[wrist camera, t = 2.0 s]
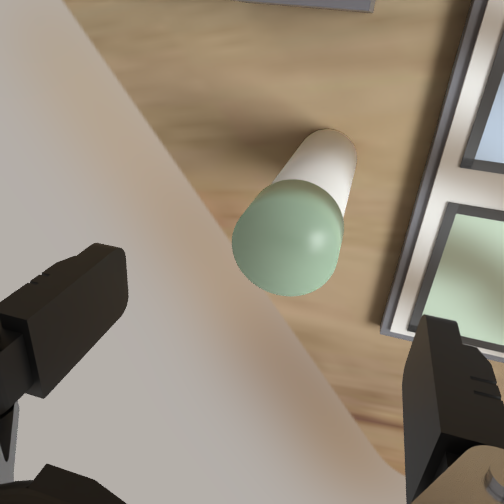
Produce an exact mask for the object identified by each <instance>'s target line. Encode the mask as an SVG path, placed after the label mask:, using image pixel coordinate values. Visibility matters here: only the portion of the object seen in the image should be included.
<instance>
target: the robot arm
mask: <svg viewBox="0 0 504 504" xmlns="http://www.w3.org/2000/svg"><path fill="white" fill-rule="evenodd" d="M127 283H128V282H127V269H126V256H125V252H124V250H123V249H122V248H118V247H114V246H109V245H104V244H99V243H94V244H92V245H91V246H89V247H88V248H86V249H85V250H84V251H82V252H81V253H80V254H78V255H77V256H73V257H70V258H68V259H65V260H63V261H60V262H57V263H55V264H54V265H53V266H51V267H50V268H48V269H47V270H45V271H44V272H42V275H38V276H37V277H35V278H34V279H32V280H31V282H30V283H27V284H25V285H24V286H22V287H21V288H20V289H18V290H17V291H15V292H14V293H13V294H11V295H10V296H8V297H7V298H6V299H4V300H3V301H1V302H0V504H126V503H125V502H124V501H122V500H121V499H120V498H118V497H117V496H116V495H114V494H113V493H111V492H110V491H109V490H107V489H106V488H104V487H103V486H102V485H101V484H99V483H98V482H97V481H95V480H93V479H90V478H88V477H85V476H82V475H78V474H76V473H73V472H70V471H67V470H64V469H61V468H58V467H55V466H52V465H50V464H46V465H45V466H44V468H43V469H42V470H41V472H40V473H39V474H38V475H37V476H36V478H35V479H34V480H28V481H15V482H14V473H13V472H14V462H15V451H16V440H17V429H18V418H19V405H18V401H17V400H18V399H19V398H20V397H21V396H22V395H23V394H24V393H27V394H30V395H33V396H37V397H40V398H43V399H44V398H45V397H46V396H47V395H48V394H49V393H50V392H51V391H52V390H53V389H54V388H55V386H56V385H57V384H58V383H59V382H60V381H61V380H62V379H63V378H64V377H65V376H66V375H67V374H68V373H69V372H70V370H71V369H72V368H73V367H74V366H75V365H76V364H77V363H78V362H79V361H80V360H81V359H82V358H83V357H84V355H85V354H86V353H87V352H88V351H89V350H90V349H91V348H92V347H93V346H94V345H95V344H96V343H97V341H98V340H99V339H100V338H101V337H102V336H103V335H104V334H105V333H106V332H107V331H108V330H109V329H110V327H111V326H112V325H113V324H114V323H115V322H116V321H117V320H118V319H119V318H120V317H121V316H122V314H123V313H124V310H125V309H126V306H127V302H128V284H127ZM496 383H497V381H496V378H495V375H494V372H493V368H492V365H491V364H490V362H489V361H488V360H487V359H486V357H485V356H484V355H483V354H482V353H481V351H480V350H479V349H478V348H477V347H474V346H469V345H465V344H462V340H461V335H460V331H459V327H458V323H457V322H456V321H454V320H449V319H444V318H440V317H435V316H430V315H426V314H423V315H422V317H421V319H420V321H419V324H418V327H417V330H416V333H415V336H414V339H413V342H412V345H411V348H410V351H409V354H408V357H407V361H406V364H405V368H404V373H403V381H402V396H403V422H404V448H405V473H406V497H407V498H406V499H407V504H504V404H503V401H501V394H500V391H499V388H498V386H497V385H496Z"/></svg>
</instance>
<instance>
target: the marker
mask: <svg viewBox="0 0 504 504" xmlns="http://www.w3.org/2000/svg"><path fill="white" fill-rule="evenodd" d="M356 164H357V152H356V149H355V146H354V144H353V143H352V141H351V140H350V139H349V138H348V137H347V136H346V135H345V134H343V133H341V132H339V131H337V130H333V129H322V130H318V131H315V132H313V133H312V134H310V135H309V136H308V137H306V138H305V140H304V141H303V142H302V143H301V145H300V146H299V147H298V149H297V150H296V151H295V153H294V154H293V155H292V157H291V158H290V159H289V161H288V162H287V163H286V165H285V166H284V167H283V169H282V170H281V171H280V173H279V174H278V176H277V177H276V178H275V180H274V181H273V182H272V184H271V185H269V186H268V187H266V188H265V189H263V190H262V191H261V192H260V193H259V194H258V195H257V197H256V198H255V199H254V200H253V202H252V203H251V204H250V206H249V207H248V208H247V209H246V211H245V212H244V213H243V215H242V216H241V217H240V219H239V220H238V222H237V224H236V226H235V228H234V231H233V236H232V249H233V254H234V258H235V260H236V263H237V265H238V266H239V268H240V270H241V271H242V272H243V273H244V275H245V276H246V277H247V278H248V279H249V280H250V281H251V282H253V284H255V285H256V286H258V287H259V288H261V289H263V290H265V291H267V292H270V293H273V294H276V295H282V296H300V295H305V294H308V293H311V292H313V291H315V290H317V289H318V288H320V287H321V286H322V285H324V284H325V283H326V282H327V281H328V280H329V278H330V277H331V275H332V274H333V272H334V270H335V268H336V264H337V260H338V256H339V252H340V247H341V243H342V238H343V233H344V221H343V216H344V212H345V208H346V204H347V200H348V196H349V192H350V188H351V184H352V180H353V176H354V172H355V168H356Z"/></svg>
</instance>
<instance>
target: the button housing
mask: <svg viewBox="0 0 504 504" xmlns="http://www.w3.org/2000/svg"><path fill="white" fill-rule="evenodd" d="M232 1H239V2H246V3H258V4H270V5H282V6H294V7H306V8H318V9H330V10H343V11H355V12H367V13H373V11H374V5H375V0H232Z"/></svg>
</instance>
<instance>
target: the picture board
mask: <svg viewBox="0 0 504 504" xmlns="http://www.w3.org/2000/svg"><path fill="white" fill-rule="evenodd" d="M423 314H426V315H430V316H435V317H440V318H444V319H449V320H454V321H456V322H457V323H458V327H459V331H460V335H461V340H462V344H465V345H469V346H474V347H477V348H478V349H479V350H480V351H481V353H482V354H483V355H484V356H485V357H486V359H490V360H494V361H498V362H502V363H504V0H472V1H471V5H470V8H469V12H468V16H467V19H466V23H465V26H464V30H463V33H462V37H461V40H460V44H459V48H458V51H457V55H456V58H455V62H454V65H453V69H452V72H451V76H450V80H449V83H448V87H447V90H446V94H445V97H444V101H443V104H442V108H441V112H440V115H439V119H438V122H437V126H436V129H435V133H434V136H433V140H432V144H431V147H430V151H429V154H428V158H427V161H426V165H425V168H424V172H423V176H422V179H421V183H420V186H419V190H418V193H417V197H416V200H415V204H414V208H413V211H412V215H411V218H410V222H409V225H408V229H407V232H406V236H405V240H404V243H403V247H402V250H401V254H400V257H399V261H398V264H397V268H396V272H395V275H394V279H393V282H392V286H391V289H390V293H389V296H388V300H387V304H386V307H385V311H384V314H383V318H382V321H381V325H380V334H382V335H387V336H391V337H395V338H399V339H404V340H408V341H412V342H413V339H414V336H415V333H416V330H417V327H418V324H419V321H420V319H421V317H422V315H423Z"/></svg>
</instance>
